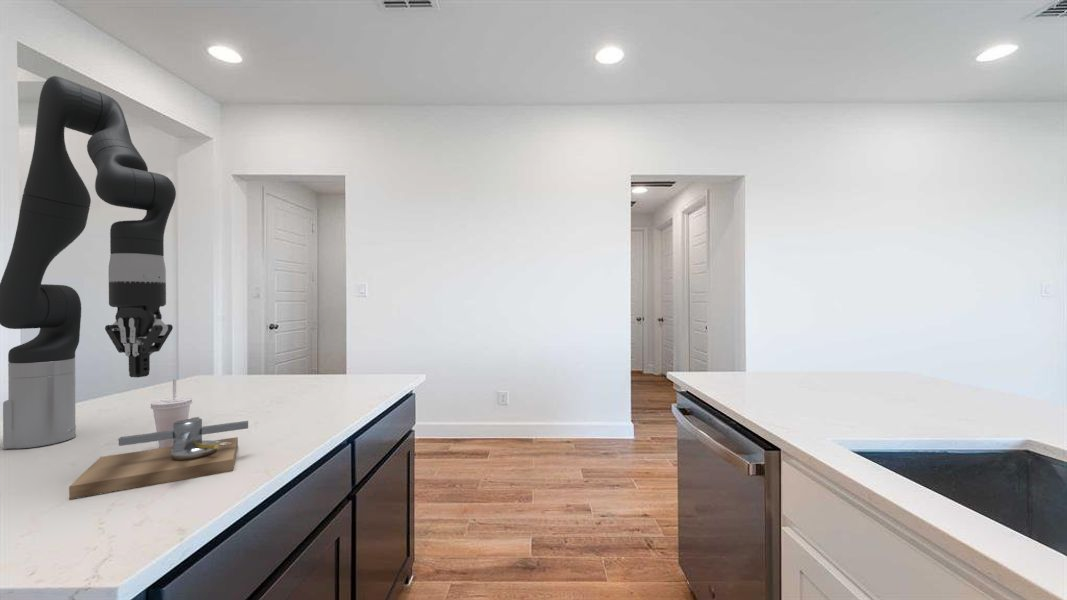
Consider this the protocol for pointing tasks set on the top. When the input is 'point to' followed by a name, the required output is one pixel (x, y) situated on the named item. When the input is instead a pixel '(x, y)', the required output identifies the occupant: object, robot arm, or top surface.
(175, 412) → the smoothie
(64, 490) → the top surface
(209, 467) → the board
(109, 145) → the robot arm
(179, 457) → the capstan
